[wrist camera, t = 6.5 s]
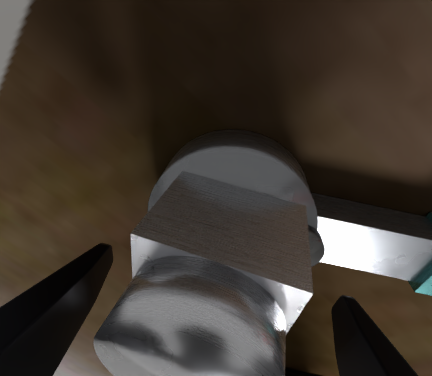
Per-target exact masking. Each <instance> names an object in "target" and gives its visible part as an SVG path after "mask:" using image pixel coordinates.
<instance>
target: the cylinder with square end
mask: <svg viewBox="0 0 432 376" xmlns="http://www.w3.org/2000/svg"><path fill="white" fill-rule="evenodd" d="M131 253H132V275H133V279H132V281H131V282H130V284H129V285H128V287H127V288H126V290H125V291H124V293H123V294H122V296H121V297H120V299H119V300H118V302H117V303H116V305H115V306H114V308H113V309H112V311H111V312H110V314H109V315H108V317H107V318H106V320H105V321H104V323H103V324H102V326H101V327H100V329H99V330H98V332H97V333H96V335H95V337H94V348H95V351H96V354H97V355H98V357H99V359H100V360H101V362H102V363H103V365H104V366H105V367H106V368H107V369H108V370H109V371H110V372H111V373H112V374H113V375H114V376H285V351H286V334H287V333H288V331H289V330H290V328H291V327H292V325H293V324H294V322H295V321H296V319H297V318H298V316H299V315H300V313H301V312H302V310H303V308H304V307H305V305H306V304H307V302H308V301H309V299H310V298H311V296H312V295H313V285H312V272H311V259H310V247H309V234H308V221H307V209H306V206H305V205H301V204H298V203H294V202H291V201H287V200H284V199H280V198H277V197H273V196H270V195H266V194H263V193H259V192H256V191H252V190H249V189H245V188H242V187H238V186H235V185H231V184H228V183H224V182H221V181H217V180H214V179H210V178H207V177H203V176H200V175H196V174H193V173H189V172H186V171H182V172H181V173H180V174H179V175H178V177H177V178H176V179H175V180H174V182H173V183H172V184H171V185H170V186H169V188H168V189H167V190H166V191H165V192H164V194H163V195H162V196H161V197H160V198H159V200H158V201H157V202H156V203H155V205H154V206H153V207H152V208H151V209H150V211H149V212H148V213H147V214H146V215H145V217H144V218H143V219H142V220H141V221H140V223H139V224H138V225H137V226H136V228H135V229H134V230H133V231H132V232H131Z"/></svg>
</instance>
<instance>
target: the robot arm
mask: <svg viewBox="0 0 432 376" xmlns="http://www.w3.org/2000/svg"><path fill="white" fill-rule="evenodd" d="M112 263H113V253H112V246H111V245H109V244H105V243H100V244H98V245H96V246H95V247H93V248H92V249H90V250H88V251H87V252H85V253H84V254H82V255H81V256H79V257H78V258H76V259H74V260H73V261H71V262H70V263H68V264H67V265H65V266H64V267H62V268H60V269H59V270H57V271H56V272H54V273H53V274H51V275H50V276H48V277H46V278H45V279H43V280H42V281H40V282H39V283H37V284H36V285H34V286H32V287H31V288H29V289H28V290H26V291H25V292H23V293H22V294H20V295H18V296H17V297H15V298H14V299H12V300H11V301H9V302H8V303H6V304H4V305H3V306H1V307H0V376H53V374H54V373H55V371H56V369H57V367H58V366H59V364H60V362H61V360H62V359H63V357H64V355H65V354H66V352H67V350H68V348H69V347H70V345H71V343H72V341H73V340H74V338H75V336H76V334H77V333H78V331H79V329H80V328H81V326H82V324H83V322H84V321H85V319H86V317H87V315H88V314H89V312H90V310H91V308H92V307H93V305H94V303H95V301H96V299H97V297H98V295H99V292H100V290H101V288H102V286H103V283H104V281H105V279H106V277H107V274H108V272H109V270H110V268H111V265H112ZM332 322H333V333H334V343H335V353H336V359H337V365H338V370H339V375H340V376H418V375H417V374H416V372H415V371H414V370H413V369H412V367H411V366H410V365H409V364H408V363H407V361H406V360H405V359H404V358H403V357H402V355H401V354H400V353H399V352H398V351H397V349H396V348H395V347H394V346H393V344H392V343H391V342H390V341H389V340H388V338H387V337H386V336H385V335H384V334H383V332H382V331H381V330H380V329H379V328H378V326H377V325H376V324H375V323H374V321H373V320H372V319H371V318H370V317H369V315H368V314H367V313H366V312H365V311H364V309H363V308H362V307H361V306H360V305H359V303H358V302H357V301H356V300H355V299H354V298H353V297H349V296H345V295H342V296H340V298H339V299H338V300H337V301H336V303H335V304H334V305H333V307H332ZM285 376H317V375H313V374H308V373H304V372H299V371H295V370H291V369H286V368H285Z"/></svg>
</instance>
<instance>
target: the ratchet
mask: <svg viewBox="0 0 432 376" xmlns="http://www.w3.org/2000/svg"><path fill="white" fill-rule="evenodd" d="M182 171H186V172H189V173H193V174H196V175H200V176H203V177H207V178H210V179H214V180H217V181H221V182H224V183H228V184H231V185H235V186H238V187H242V188H245V189H249V190H252V191H256V192H259V193H263V194H266V195H270V196H273V197H277V198H280V199H284V200H287V201H291V202H294V203H298V204H301V205H305V206H306V209H307V221H308V234H309V247H310V259H311V267H312V266H314V265H316V264H317V263H319V262H324V263H329V264H334V265H338V266H343V267H348V268H352V269H357V270H362V271H366V272H371V273H376V274H380V275H385V276H390V277H394V278H399V279H404V280H408V282H409V284H410V285H411V287H412V288H413V290H414V292H417V293H422V294H427V295H431V296H432V212H429V213H428V214H427V216H421V215H416V214H412V213H407V212H402V211H397V210H392V209H388V208H383V207H378V206H373V205H368V204H364V203H359V202H354V201H349V200H344V199H340V198H335V197H330V196H325V195H320V194H316V193H311V192H310V189H309V186H308V183H307V180H306V177H305V174H304V172H303V170H302V168H301V166H300V164H299V163H298V161H297V160H296V158H295V157H294V156H293V155H292V154H291V153H290V152H289V151H288V150H287V149H286V148H285V147H283V146H282V145H281V144H280V143H278V142H276V141H274V140H273V139H271V138H269V137H266V136H264V135H262V134H259V133H255V132H251V131H245V130H233V129H227V130H219V131H214V132H210V133H206V134H204V135H201V136H199V137H197V138H195V139H193V140H191V141H190V142H188V143H187V144H185V145H184V146H183V147H182V148H181V149H180V150H179V151H178V152H177V153H176V154H175V155H174V157H173V158H172V160H171V161H170V163H169V164H168V166H167V167H166V169H165V171H164V172H163V174H162V175H161V177H160V178H159V180H158V181H157V183H156V185H155V186H154V188H153V190H152V193H151V195H150V199H149V203H148V212H149V211H150V209H151V208H152V207H153V206H154V205H155V203H156V202H157V201H158V200H159V198H160V197H161V196H162V195H163V194H164V192H165V191H166V190H167V189H168V188H169V186H170V185H171V184H172V183H173V182H174V180H175V179H176V178H177V177H178V175H179V174H180V173H181V172H182Z"/></svg>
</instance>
